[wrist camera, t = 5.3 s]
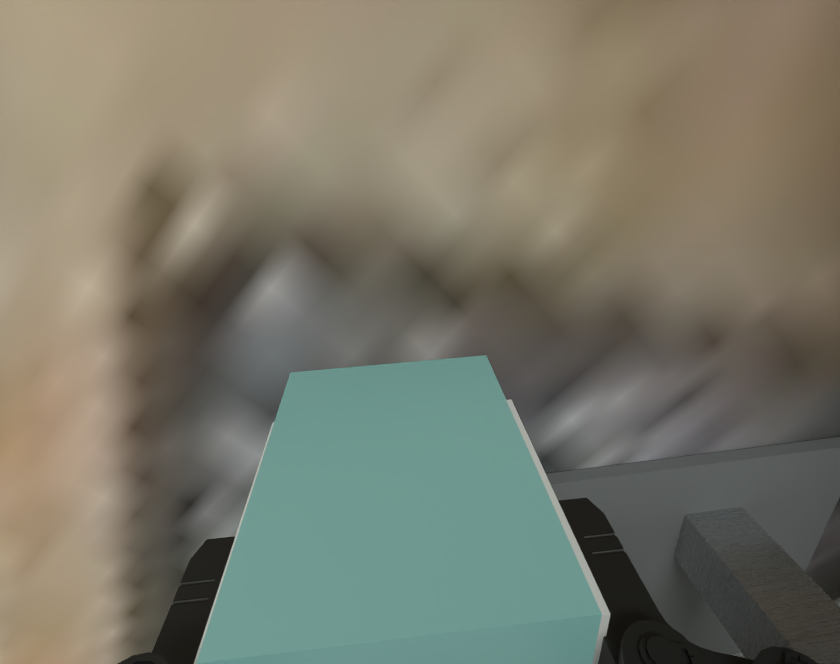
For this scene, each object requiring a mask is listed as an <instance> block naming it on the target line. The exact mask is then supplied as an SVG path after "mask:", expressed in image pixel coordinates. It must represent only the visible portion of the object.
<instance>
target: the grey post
mask: <svg viewBox="0 0 840 664" xmlns="http://www.w3.org/2000/svg"><path fill="white" fill-rule="evenodd" d="M674 557H675V559H676V560H677V561H678V563H679V564H680V566H681V567H682V568H683V570H684V571H685V573H686V574H687V576H688V577H689V578H690V580H691V581H692V583H693V584H694V585H695V587H696V588H697V590H698V591H699V593H700V594H701V595H702V597H703V598H704V600H705V601H706V602H707V604H708V605H709V607H710V608H711V610H712V611H713V612H714V614H715V615H716V617H717V618H718V619H719V621H720V622H721V624H722V625H723V626H724V628H725V629H726V631H727V632H728V634H729V635H730V636H731V638H732V639H733V641H734V642H735V643H736V645H737V646H738V648H739V649H740V651H741V652H742V653H743V655H744V656H745V658H746V659H751V660H755V658H756V657H757V655H758V654H759V652H760V651H761V650H763V649H766V648H769V647H772V646H775V647H784V648H790V649H792V650H795V651H797V652H799V653H802V654H804V655H806V656H808V657H810V658H811V659H812V660H814V661H815V662H817V663H818V664H840V607H839V606H838V605H837V604H836V603H835V602H834V601H833V600H832V599H831V598H830V597H829V596H828V595H827V594H826V593H825V592H824V591H823V590H822V589H821V588H820V587H819V586H818V585H817V584H816V583H815V582H814V581H813V580H812V579H811V578H810V577H809V575H808V574H807V573H806V572H805V571H804V570H803V569H802V568H801V567H800V566H799V565H798V564H797V563H796V562H795V561H794V560H793V559H792V558H791V557H790V556H789V555H788V554H787V553H786V552H785V551H784V550H783V549H782V548H781V547H780V546H779V545H778V544H777V542H776V541H775V540H774V539H773V538H772V537H771V536H770V535H769V534H768V533H767V532H766V531H765V530H764V529H763V528H762V527H761V526H760V525H759V524H758V523H757V522H756V521H755V520H754V519H753V518H752V517H751V516H750V515H749V514H748V513H747V512H746V510H745V509H744V508H743V507H736V508H728V509H721V510H714V511H706V512H699V513H692V514H685V516H684V520H683V524H682V528H681V531H680V535H679V539H678V543H677V546H676V550H675V554H674Z"/></svg>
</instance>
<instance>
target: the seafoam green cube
mask: <svg viewBox="0 0 840 664" xmlns="http://www.w3.org/2000/svg"><path fill="white" fill-rule="evenodd" d="M601 616H602V613H601V611H600V609H599V607H598V604H597V602H596V600H595V598H594V596H593V593H592V591H591V589H590V587H589V584H588V582H587V580H586V578H585V575H584V573H583V571H582V569H581V566H580V564H579V562H578V560H577V557H576V555H575V553H574V551H573V549H572V546H571V544H570V542H569V540H568V537H567V535H566V533H565V531H564V528H563V526H562V524H561V522H560V519H559V517H558V515H557V513H556V510H555V508H554V506H553V504H552V502H551V499H550V497H549V495H548V493H547V490H546V488H545V486H544V484H543V481H542V479H541V477H540V475H539V472H538V470H537V468H536V466H535V463H534V461H533V459H532V457H531V455H530V452H529V450H528V448H527V446H526V443H525V441H524V439H523V437H522V434H521V432H520V430H519V428H518V425H517V423H516V421H515V419H514V416H513V414H512V412H511V410H510V408H509V405H508V403H507V401H506V399H505V396H504V394H503V392H502V390H501V387H500V385H499V383H498V381H497V378H496V376H495V374H494V372H493V369H492V367H491V365H490V363H489V361H488V358H487V356H486V355H484V356H473V357H461V358H450V359H439V360H427V361H416V362H405V363H393V364H382V365H371V366H359V367H348V368H337V369H325V370H314V371H302V372H291V373H290V376H289V379H288V382H287V385H286V388H285V391H284V394H283V397H282V400H281V403H280V406H279V409H278V413H277V416H276V419H275V422H274V425H273V428H272V431H271V434H270V437H269V440H268V443H267V446H266V450H265V453H264V456H263V459H262V462H261V465H260V468H259V471H258V474H257V477H256V480H255V483H254V487H253V490H252V493H251V496H250V499H249V502H248V505H247V508H246V511H245V514H244V517H243V520H242V523H241V527H240V530H239V533H238V536H237V539H236V542H235V545H234V548H233V551H232V554H231V557H230V560H229V564H228V567H227V570H226V573H225V576H224V579H223V582H222V585H221V588H220V591H219V594H218V597H217V601H216V604H215V607H214V610H213V613H212V616H211V619H210V622H209V625H208V628H207V631H206V634H205V638H204V641H203V644H202V647H201V650H200V653H199V656H198V659H197V662H196V664H592V663H593V657H594V652H595V647H596V642H597V637H598V632H599V627H600V621H601Z"/></svg>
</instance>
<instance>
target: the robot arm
mask: <svg viewBox="0 0 840 664" xmlns="http://www.w3.org/2000/svg"><path fill="white" fill-rule="evenodd" d="M506 401H507V403H508V405H509V408H510V410H511V412H512V414H513V416H514V419H515V421H516V423H517V425H518V428H519V430H520V432H521V434H522V437H523V439H524V441H525V443H526V446H527V448H528V450H529V452H530V455H531V457H532V459H533V461H534V463H535V466H536V468H537V470H538V472H539V475H540V477H541V479H542V481H543V484H544V486H545V488H546V490H547V493H548V495H549V497H550V499H551V502H552V504H553V506H554V508H555V510H556V513H557V515H558V517H559V519H560V522H561V524H562V526H563V528H564V531H565V533H566V535H567V537H568V540H569V542H570V544H571V546H572V549H573V551H574V553H575V555H576V557H577V560H578V562H579V564H580V566H581V569H582V571H583V573H584V575H585V578H586V580H587V582H588V584H589V587H590V589H591V591H592V593H593V596H594V598H595V600H596V602H597V604H598V607H599V609H600V611H601V613H602V616H601V621H600V627H599V632H598V637H597V642H596V647H595V652H594V657H593V663H592V664H818V663H817V662H815V661H814V660H812V659H811V658H810V657H808V656H806V655H804V654H802V653H799V652H797V651H795V650H792V649H790V648H784V647H775V646H772V647H769V648H766V649H763V650H761V651H760V652H759V654H758V655H757V657H756V658H755V660H751V659H746V658H742V657H737V656H733V655H728V654H724V653H719V652H714V651H711V650H708V649H705V648H702V647H699V646H697V645H695V644H693V643H692V642H690V641H688V640H687V639H686V638H685V637H684V636H683V635H682V634H681V633H679V632H678V631H676V630H675V629H673V628H672V627H671V626H670V625H669V624H668V623H667V622H666V621H665V619H664V618H663V616H662V615H661V613H660V612H659V610H658V608H657V607H656V605H655V603H654V601H653V600H652V598H651V596H650V594H649V592H648V591H647V589H646V587H645V585H644V584H643V582H642V580H641V578H640V576H639V575H638V573H637V571H636V569H635V568H634V566H633V564H632V562H631V560H630V559H629V557H628V555H627V553H626V552H624V549H623V546H622V544H621V543H620V541H619V539H618V537H617V536H615V532H614V530H613V528H612V527H611V525H610V523H609V521H608V520H607V518H606V516H605V514H604V513H603V512H602V511H601V510H600V509H599V508H598V507H597V506H595V505H594V504H593V503H592V502H591V501H590V500H589V499H588V498H577V499H568V500H559V501H558V499H557V497H556V495H555V493H554V491H553V489H552V487H551V484H550V482H549V480H548V478H547V476H546V474H545V471H544V469H543V467H542V465H541V463H540V461H539V458H538V456H537V454H536V452H535V450H534V448H533V446H532V443H531V441H530V439H529V437H528V435H527V433H526V430H525V428H524V426H523V424H522V422H521V420H520V417H519V415H518V413H517V411H516V409H515V407H514V405H513V402H512V400H506ZM273 425H274V422H273V423H272V426H271V429H270V432H269V435H268V438H267V441H266V444H265V448H264V451H263V454H262V457H261V460H260V463H259V466H258V469H257V472H256V475H255V478H254V481H253V484H252V487H251V490H250V493H249V496H248V499H247V502H246V506H245V509H244V512H243V515H242V518H241V521H240V524H239V527H238V530H237V533H236V536H235V537H226V538H217V539H207V540H206V541H205V542H204V544H203V545H202V546H201V547H200V548H199V550H198V551H197V552H196V553H195V554H194V556H193V557H192V558H191V559H190V561H189V564H188V566H187V569H186V571H185V573H184V576H183V578H182V581H181V586H179V588H178V590H177V593H176V595H175V598H174V600H173V601H174V603H173V605H171V608H170V610H169V612H168V615H167V617H166V620H165V622H164V625H163V627H162V629H161V632H160V634H159V637H158V639H157V642H156V644H155V646H154V649H153V651H152V653H149V652H148V653H144V654H139V655H134V656H131V657H129V658H128V659H126V660H124V661H122V662H120V663H118V664H196V662H197V659H198V656H199V653H200V650H201V647H202V644H203V641H204V638H205V634H206V631H207V628H208V625H209V622H210V619H211V616H212V613H213V610H214V607H215V604H216V601H217V597H218V594H219V591H220V588H221V585H222V582H223V579H224V576H225V573H226V570H227V567H228V564H229V560H230V557H231V554H232V551H233V548H234V545H235V542H236V539H237V536H238V533H239V530H240V527H241V523H242V520H243V517H244V514H245V511H246V508H247V505H248V502H249V499H250V496H251V493H252V490H253V487H254V483H255V480H256V477H257V474H258V471H259V468H260V465H261V462H262V459H263V456H264V453H265V450H266V446H267V443H268V440H269V437H270V434H271V431H272V428H273Z"/></svg>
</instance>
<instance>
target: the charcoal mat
mask: <svg viewBox="0 0 840 664" xmlns="http://www.w3.org/2000/svg"><path fill="white" fill-rule="evenodd" d="M546 476H547V478H548V480H549V482H550V484H551V487H552V489H553V491H554V493H555V495H556V497H557V499H558V501H559V500H568V499H577V498H588V499H589V500H590V501H591V502H592V503H593V504H594V505H595V506H597V507H598V508H599V509H600V510H601V511H602V512H603V513H604V514H605V516H606V518H607V520H608V521H609V523H610V525H611V527H612V528H613V530H614V532H615V536H617V537H618V539H619V541H620V543H621V544H622V546H623V549H624V552H626V553H627V555H628V557H629V559H630V560H631V562H632V564H633V566H634V568H635V569H636V571H637V573H638V575H639V576H640V578H641V580H642V582H643V584H644V585H645V587H646V589H647V591H648V592H649V594H650V596H651V598H652V600H653V601H654V603H655V605H656V607H657V608H658V610H659V612H660V613H661V615H662V616H663V618H664V619H665V621H666V622H667V623H668V624H669V625H670V626H671V627H672V628H673V629H675V630H676V631H678V632H679V633H681V634H682V635H683V636H684V637H685V638H686V639H687V640H688V641H690V642H692V643H693V644H695V645H697V646H699V647H702V648H705V649H708V650H711V651H714V652H719V653H724V654H734V653H740V652H741V651H740V649H739V648H738V646H737V645H736V643H735V642H734V641H733V639H732V638H731V636H730V635H729V634H728V632H727V631H726V629H725V628H724V626H723V625H722V624H721V622H720V621H719V619H718V618H717V617H716V615H715V614H714V612H713V611H712V610H711V608H710V607H709V605H708V604H707V602H706V601H705V600H704V598H703V597H702V595H701V594H700V593H699V591H698V590H697V588H696V587H695V585H694V584H693V583H692V581H691V580H690V578H689V577H688V576H687V574H686V573H685V571H684V570H683V568H682V567H681V566H680V564H679V563H678V561H677V560H676V559H675V557H674V554H675V550H676V546H677V543H678V539H679V535H680V531H681V528H682V524H683V520H684V516H685V514H692V513H699V512H706V511H714V510H721V509H728V508H736V507H743V508H744V509H745V510H746V512H747V513H748V514H749V515H750V516H751V517H752V518H753V519H754V520H755V521H756V522H757V523H758V524H759V525H760V526H761V527H762V528H763V529H764V530H765V531H766V532H767V533H768V534H769V535H770V536H771V537H772V538H773V539H774V540H775V541H776V542H777V544H778V545H779V546H780V547H781V548H782V549H783V550H784V551H785V552H786V553H787V554H788V555H789V556H790V557H791V558H792V559H793V560H794V561H795V562H796V563H797V564H798V565H799V566H800V567H801V568H802V569H803V570H804V571H805V572H806V569H807V567H808V565H809V563H810V561H811V559H812V556H813V554H814V552H815V550H816V548H817V545H818V543H819V541H820V539H821V537H822V535H823V532H824V530H825V528H826V526H827V524H828V521H829V519H830V517H831V515H832V513H833V510H834V508H835V506H836V504H837V502H838V500H839V497H840V437H834V438H826V439H818V440H810V441H802V442H794V443H786V444H778V445H770V446H762V447H754V448H746V449H738V450H731V451H723V452H715V453H707V454H699V455H691V456H683V457H675V458H667V459H659V460H651V461H643V462H635V463H627V464H619V465H611V466H603V467H595V468H587V469H580V470H572V471H564V472H556V473H548V474H546Z"/></svg>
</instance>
